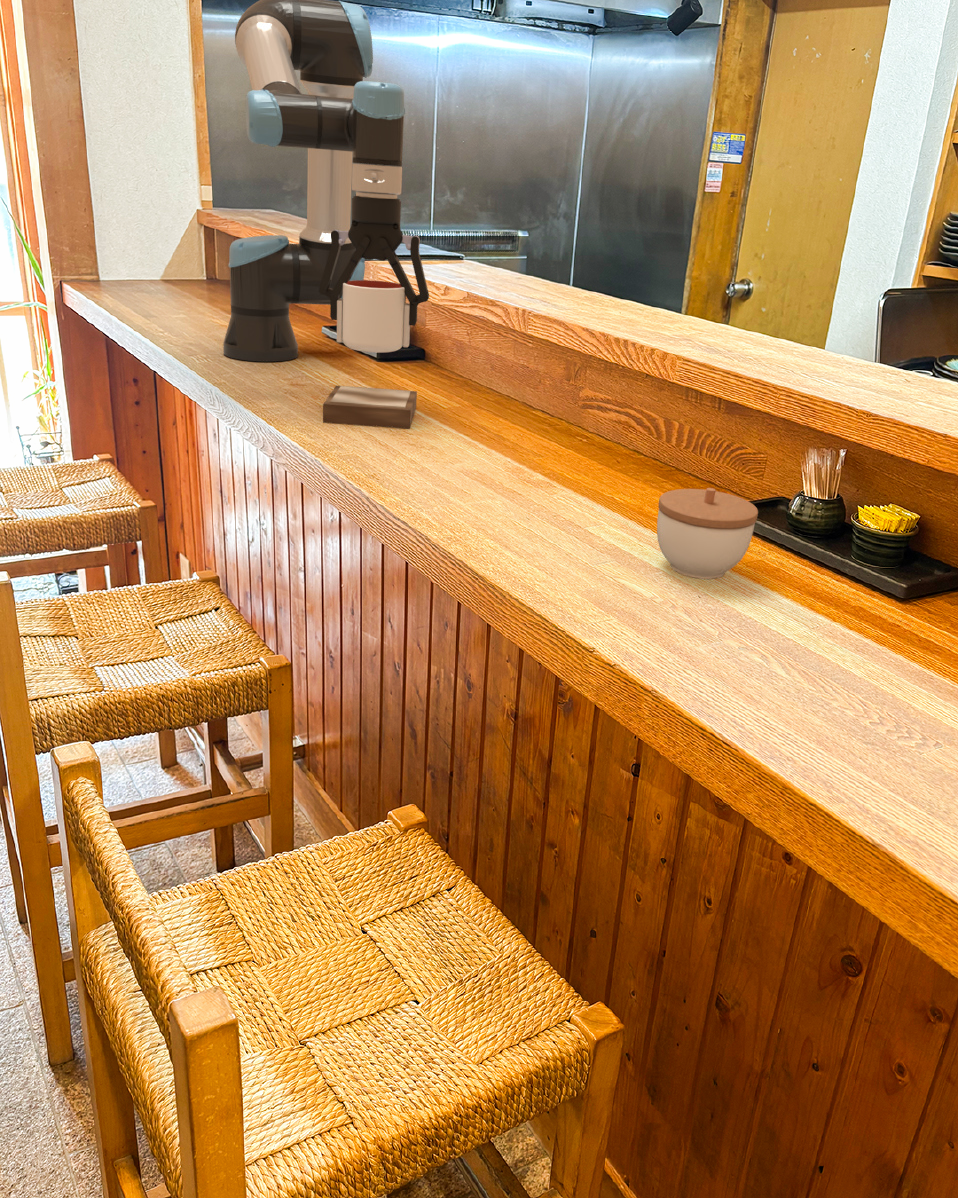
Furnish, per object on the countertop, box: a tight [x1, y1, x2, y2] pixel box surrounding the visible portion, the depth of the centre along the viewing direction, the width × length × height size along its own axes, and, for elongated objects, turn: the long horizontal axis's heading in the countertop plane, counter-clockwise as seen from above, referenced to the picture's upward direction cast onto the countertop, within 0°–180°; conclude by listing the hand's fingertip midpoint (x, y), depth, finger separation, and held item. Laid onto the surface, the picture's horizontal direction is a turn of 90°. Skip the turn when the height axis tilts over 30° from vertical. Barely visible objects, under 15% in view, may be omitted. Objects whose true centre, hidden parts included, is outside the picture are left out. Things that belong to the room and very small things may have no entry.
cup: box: [342, 279, 407, 353], centre depth 157 cm, size 10×10×10 cm
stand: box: [322, 385, 418, 430], centre depth 163 cm, size 14×14×3 cm
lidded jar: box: [656, 487, 759, 580], centre depth 108 cm, size 11×11×9 cm
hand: (373, 343), depth 159 cm, fingers closed on cup, 10 cm apart
